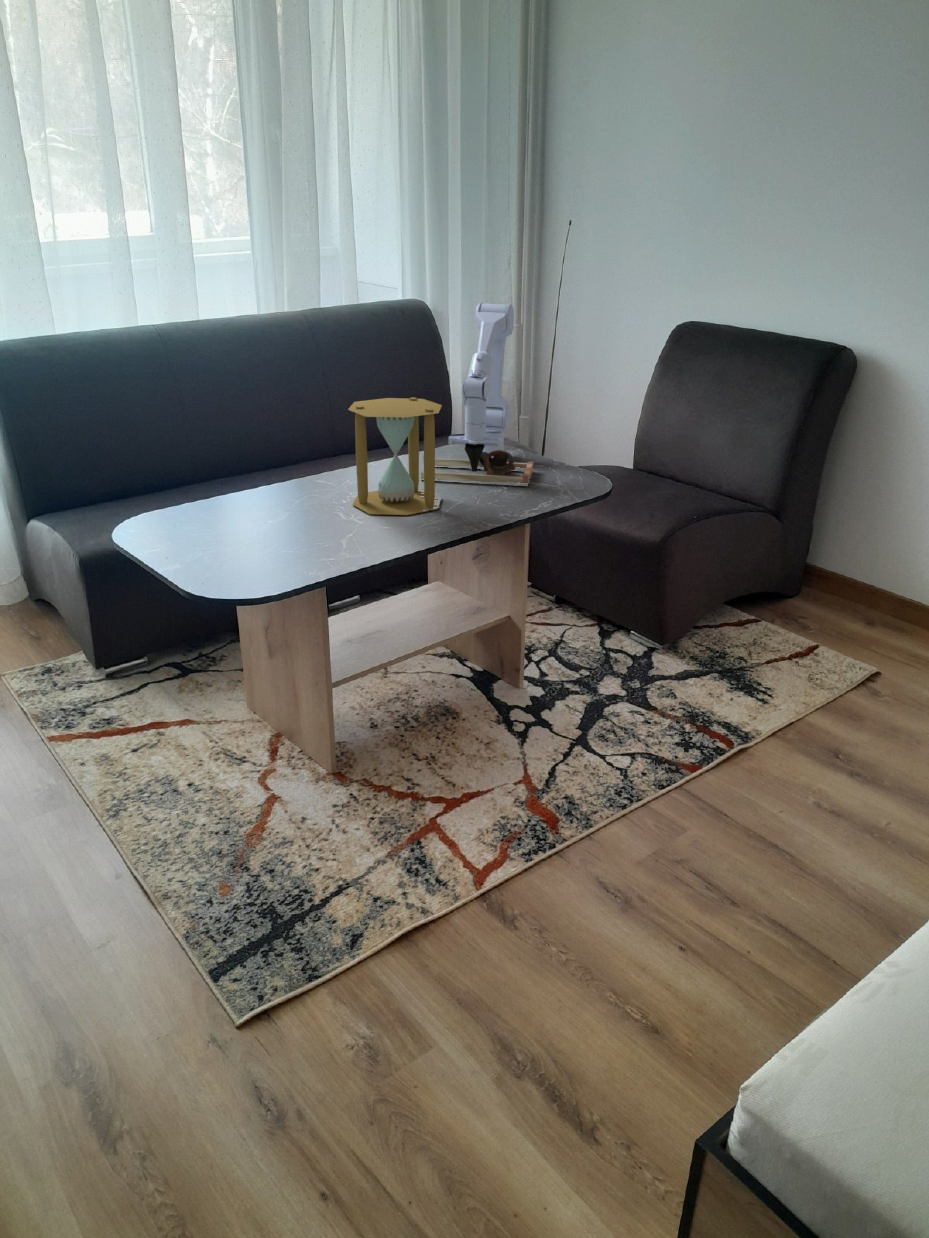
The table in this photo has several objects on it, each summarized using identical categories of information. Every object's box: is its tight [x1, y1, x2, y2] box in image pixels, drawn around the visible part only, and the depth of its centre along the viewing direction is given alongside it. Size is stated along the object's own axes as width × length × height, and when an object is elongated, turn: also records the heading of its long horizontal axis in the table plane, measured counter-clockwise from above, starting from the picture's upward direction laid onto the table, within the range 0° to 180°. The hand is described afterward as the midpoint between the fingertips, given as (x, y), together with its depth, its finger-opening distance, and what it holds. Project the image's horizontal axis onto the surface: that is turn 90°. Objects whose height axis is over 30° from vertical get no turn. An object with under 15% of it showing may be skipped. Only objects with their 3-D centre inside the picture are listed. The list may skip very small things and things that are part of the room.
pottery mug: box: [479, 450, 516, 476], centre depth 262 cm, size 12×10×8 cm
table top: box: [420, 457, 534, 483], centre depth 262 cm, size 15×30×3 cm, turn 81°
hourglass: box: [347, 397, 443, 516], centre depth 235 cm, size 24×22×25 cm
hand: (474, 470), depth 262 cm, fingers closed
